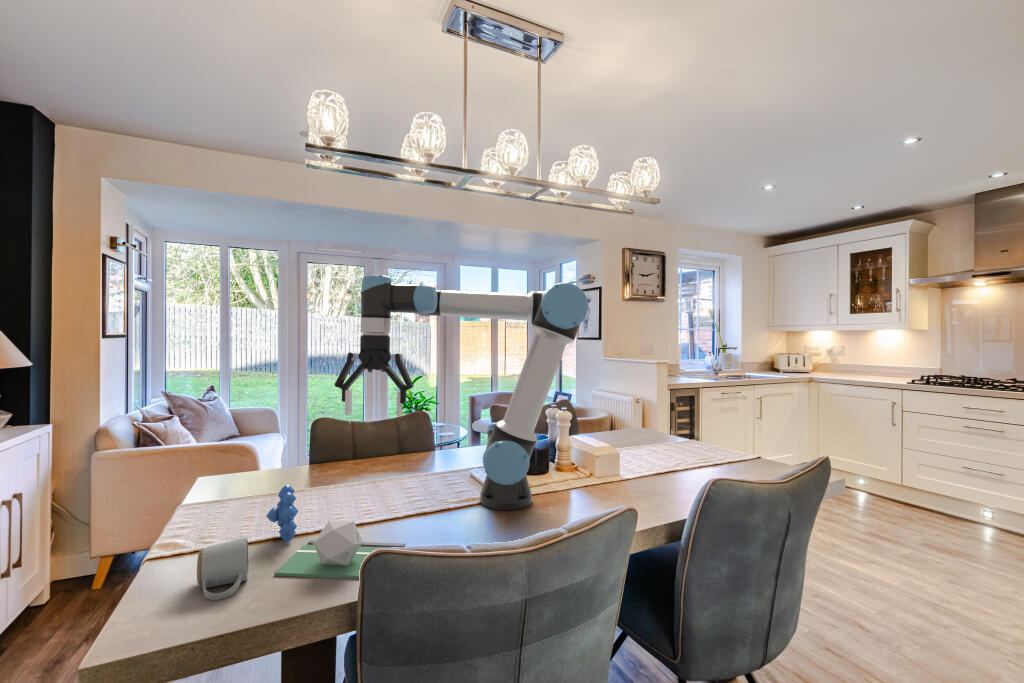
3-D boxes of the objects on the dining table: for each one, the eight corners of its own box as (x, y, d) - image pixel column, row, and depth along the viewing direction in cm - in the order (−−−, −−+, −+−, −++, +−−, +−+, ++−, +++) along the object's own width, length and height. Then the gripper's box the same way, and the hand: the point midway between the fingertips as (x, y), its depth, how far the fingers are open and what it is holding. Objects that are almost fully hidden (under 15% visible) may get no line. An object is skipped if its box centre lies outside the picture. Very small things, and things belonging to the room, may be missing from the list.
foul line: (404, 544, 105) (404, 543, 105) (403, 547, 104) (403, 545, 104) (310, 541, 106) (310, 540, 106) (307, 543, 104) (307, 542, 104)
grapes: (264, 532, 110) (264, 482, 110) (295, 526, 113) (295, 478, 113) (267, 552, 100) (268, 497, 100) (301, 545, 103) (302, 492, 103)
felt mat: (401, 551, 102) (401, 548, 102) (384, 579, 90) (385, 576, 90) (303, 547, 102) (303, 544, 102) (274, 575, 90) (274, 572, 90)
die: (331, 581, 89) (364, 534, 92) (296, 553, 91) (330, 508, 94) (346, 575, 97) (376, 532, 100) (314, 550, 99) (344, 508, 102)
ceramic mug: (200, 578, 89) (200, 538, 89) (248, 568, 93) (249, 530, 93) (193, 607, 80) (194, 564, 80) (247, 595, 84) (248, 554, 84)
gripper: (425, 335, 124) (423, 413, 124) (334, 333, 125) (332, 411, 125) (419, 335, 117) (417, 418, 117) (322, 333, 117) (320, 416, 117)
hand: (373, 415), depth 121 cm, fingers open, 13 cm apart
